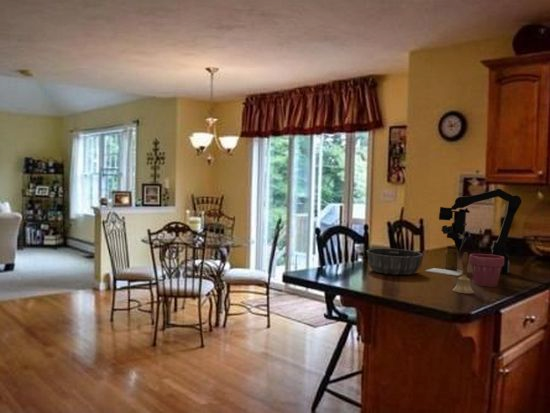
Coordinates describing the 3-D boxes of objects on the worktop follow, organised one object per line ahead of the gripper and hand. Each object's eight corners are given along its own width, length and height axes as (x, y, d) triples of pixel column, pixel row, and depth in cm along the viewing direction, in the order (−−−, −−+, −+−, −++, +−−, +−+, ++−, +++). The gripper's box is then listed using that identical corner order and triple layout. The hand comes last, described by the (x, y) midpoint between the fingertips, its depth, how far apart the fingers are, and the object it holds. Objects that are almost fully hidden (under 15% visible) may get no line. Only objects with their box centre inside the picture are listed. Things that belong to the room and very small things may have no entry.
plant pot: (474, 280, 240) (476, 252, 239) (506, 285, 231) (508, 256, 231) (463, 284, 229) (465, 255, 228) (496, 289, 220) (498, 259, 219)
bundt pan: (423, 279, 238) (424, 257, 237) (364, 275, 243) (365, 253, 243) (419, 270, 264) (420, 250, 263) (366, 266, 269) (367, 247, 269)
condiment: (448, 268, 272) (450, 245, 271) (463, 271, 265) (465, 247, 265) (440, 269, 267) (442, 246, 266) (455, 272, 261) (457, 248, 260)
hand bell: (469, 289, 217) (471, 251, 217) (477, 294, 209) (479, 254, 208) (449, 289, 217) (451, 250, 216) (456, 293, 209) (459, 253, 208)
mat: (465, 273, 258) (465, 272, 258) (457, 276, 249) (457, 274, 249) (433, 269, 267) (433, 267, 267) (425, 271, 259) (425, 270, 259)
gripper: (450, 219, 283) (449, 248, 284) (437, 220, 268) (435, 251, 269) (471, 220, 276) (470, 250, 277) (459, 222, 261) (457, 253, 262)
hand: (458, 251), depth 271 cm, fingers closed
